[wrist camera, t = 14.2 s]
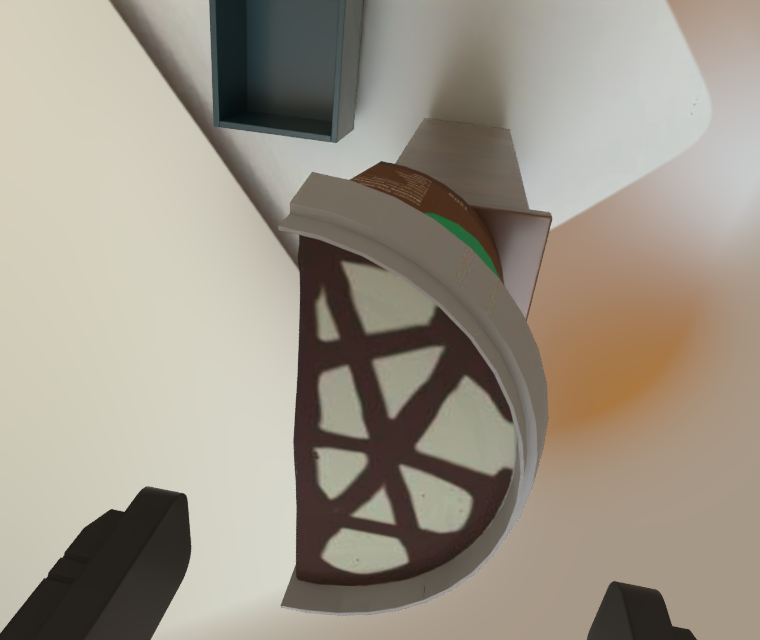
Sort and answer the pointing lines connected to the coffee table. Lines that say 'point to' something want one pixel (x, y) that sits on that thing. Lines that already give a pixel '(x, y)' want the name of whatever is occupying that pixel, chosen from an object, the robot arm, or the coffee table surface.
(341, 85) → the teal open box
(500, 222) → the plate
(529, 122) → the coffee table surface
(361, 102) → the coffee table surface
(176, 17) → the coffee table surface
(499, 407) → the food container
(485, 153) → the pillar
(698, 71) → the coffee table surface
